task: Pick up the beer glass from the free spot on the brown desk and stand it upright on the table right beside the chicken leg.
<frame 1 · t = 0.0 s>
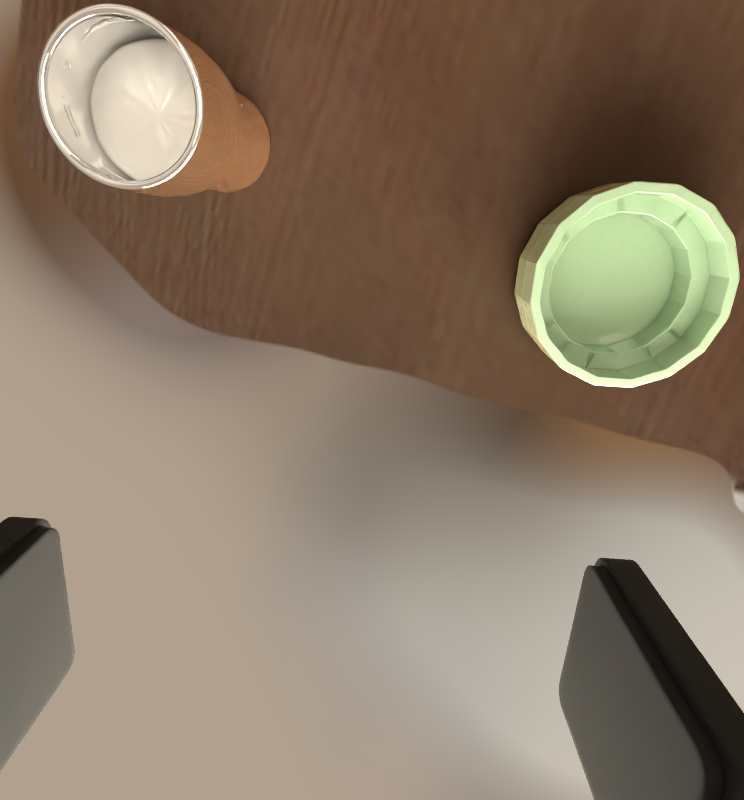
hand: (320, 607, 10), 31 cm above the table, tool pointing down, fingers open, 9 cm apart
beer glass: (224, 142, 36), on the table
sage bowl: (603, 280, 38), on the table
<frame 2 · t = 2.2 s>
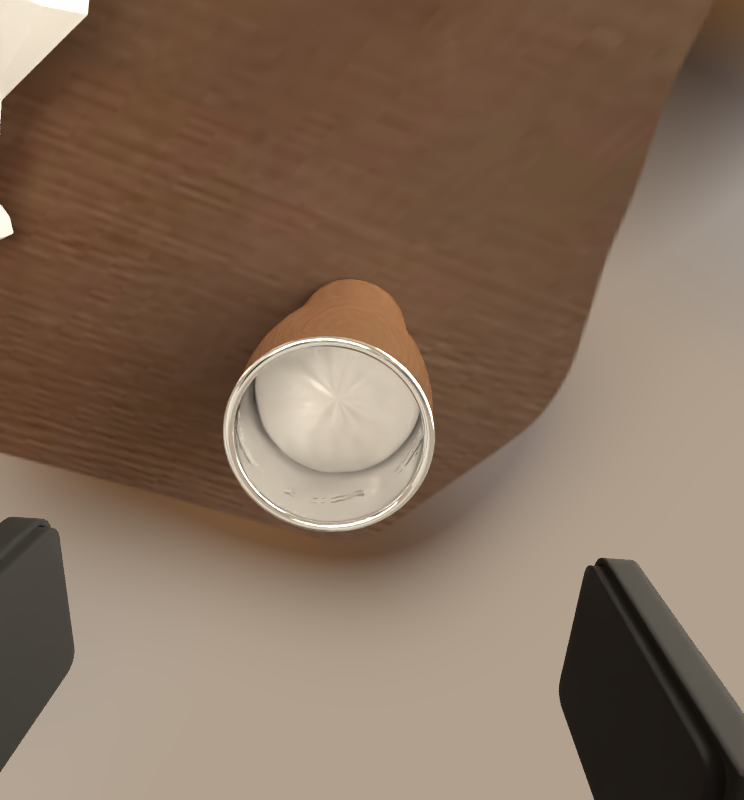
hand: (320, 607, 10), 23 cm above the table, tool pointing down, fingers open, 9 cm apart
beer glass: (351, 333, 32), on the table
chicken leg: (18, 67, 27), on the table
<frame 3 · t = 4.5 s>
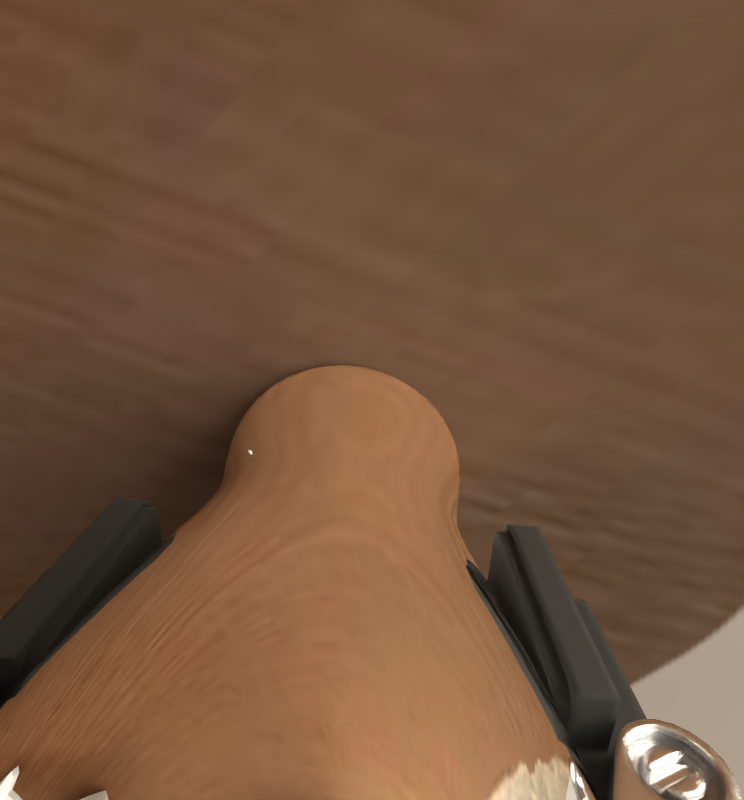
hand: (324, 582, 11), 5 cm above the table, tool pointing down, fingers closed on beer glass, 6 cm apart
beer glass: (344, 469, 15), on the table, touching gripper
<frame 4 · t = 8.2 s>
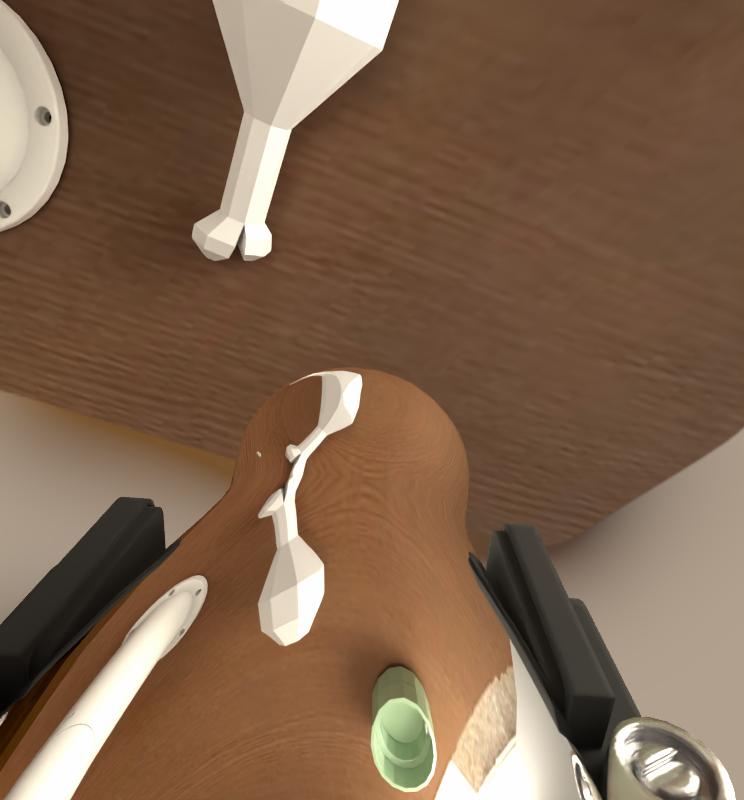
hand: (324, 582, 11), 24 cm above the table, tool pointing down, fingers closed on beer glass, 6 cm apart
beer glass: (353, 472, 15), point 19 cm above the table, touching gripper
chicken leg: (291, 96, 29), on the table
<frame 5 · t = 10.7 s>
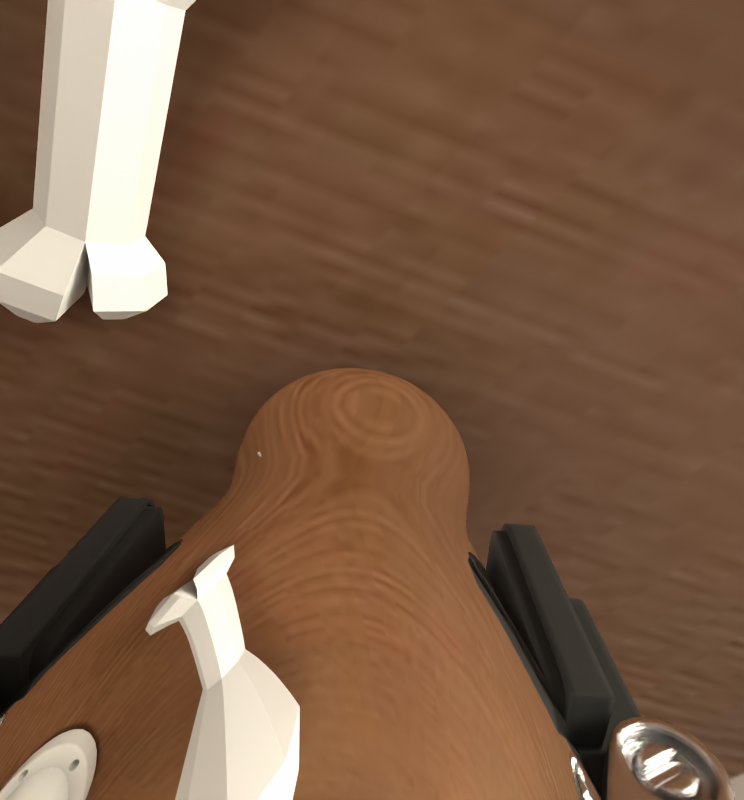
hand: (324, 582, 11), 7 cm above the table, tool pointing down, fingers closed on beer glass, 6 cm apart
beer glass: (353, 472, 15), point 2 cm above the table, touching gripper
when the fingers open (5 cm above the table, at t = 11.9 s): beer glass stays where it is, on the table.
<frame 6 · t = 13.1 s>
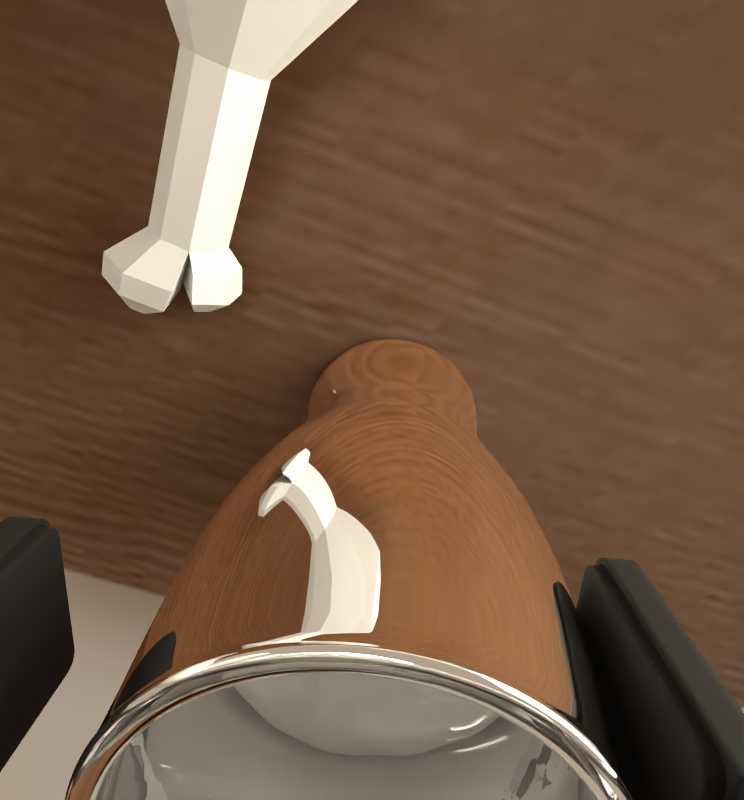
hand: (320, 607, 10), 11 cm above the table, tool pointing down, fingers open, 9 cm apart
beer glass: (391, 418, 21), on the table
chicken leg: (273, 30, 17), on the table
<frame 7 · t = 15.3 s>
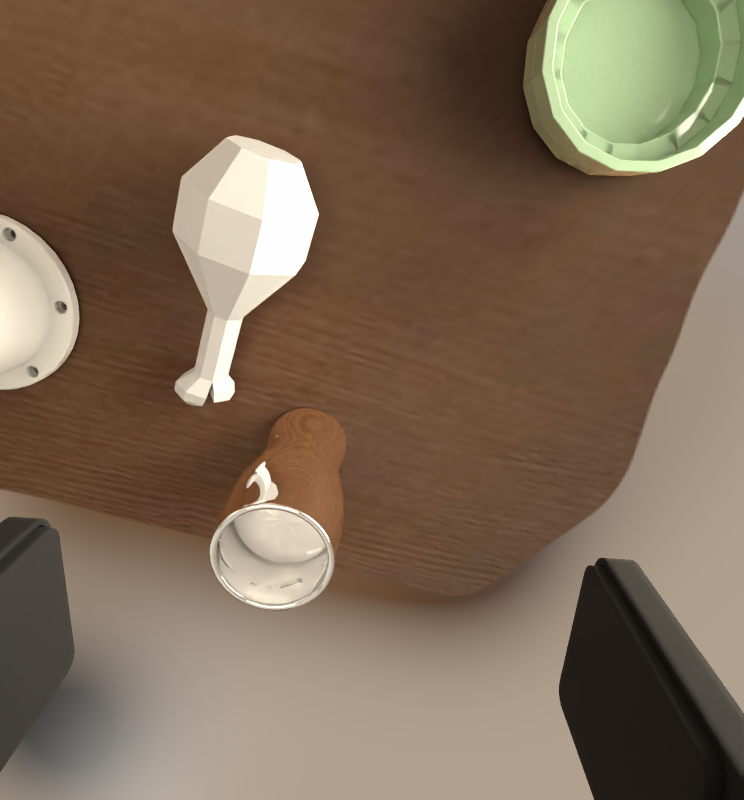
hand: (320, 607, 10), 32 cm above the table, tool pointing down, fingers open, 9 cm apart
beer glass: (307, 443, 44), on the table
chicken leg: (243, 283, 40), on the table
sage bowl: (620, 70, 35), on the table
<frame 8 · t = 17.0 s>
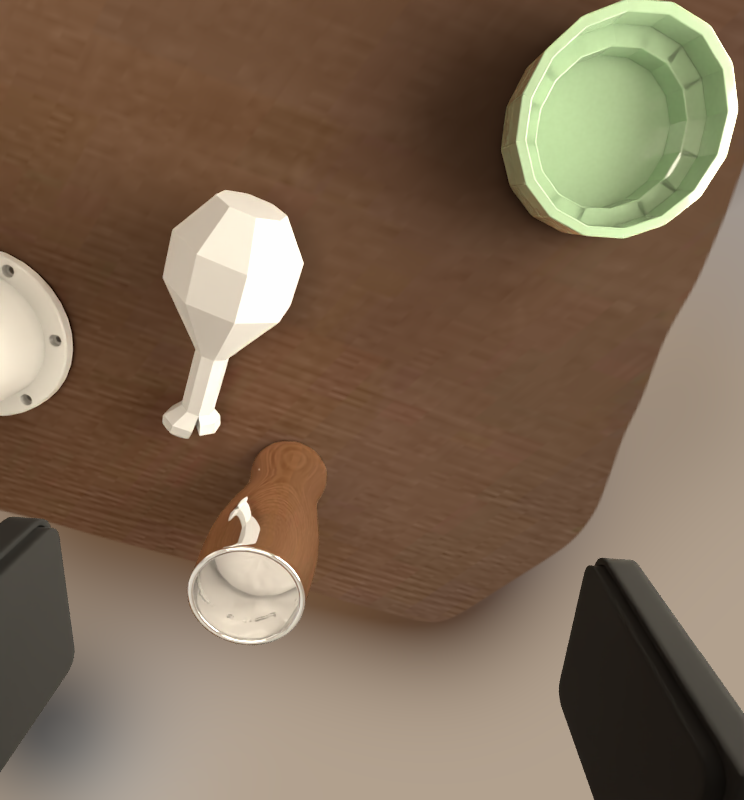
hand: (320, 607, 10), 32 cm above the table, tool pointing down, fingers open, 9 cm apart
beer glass: (290, 473, 45), on the table
chicken leg: (231, 321, 41), on the table
sage bowl: (594, 136, 37), on the table
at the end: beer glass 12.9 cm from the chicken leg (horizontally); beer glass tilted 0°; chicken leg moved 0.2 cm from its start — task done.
